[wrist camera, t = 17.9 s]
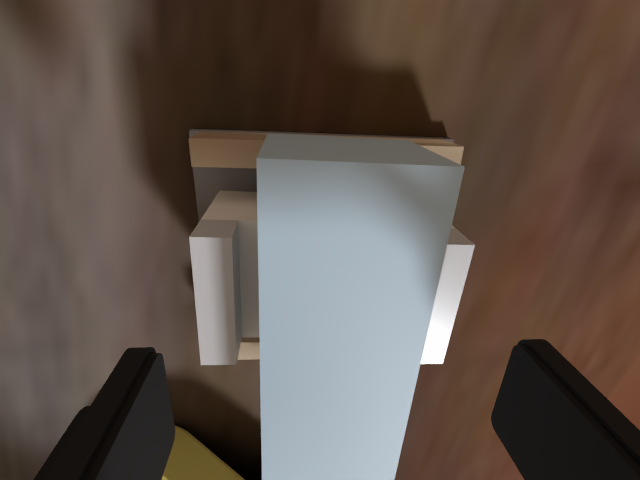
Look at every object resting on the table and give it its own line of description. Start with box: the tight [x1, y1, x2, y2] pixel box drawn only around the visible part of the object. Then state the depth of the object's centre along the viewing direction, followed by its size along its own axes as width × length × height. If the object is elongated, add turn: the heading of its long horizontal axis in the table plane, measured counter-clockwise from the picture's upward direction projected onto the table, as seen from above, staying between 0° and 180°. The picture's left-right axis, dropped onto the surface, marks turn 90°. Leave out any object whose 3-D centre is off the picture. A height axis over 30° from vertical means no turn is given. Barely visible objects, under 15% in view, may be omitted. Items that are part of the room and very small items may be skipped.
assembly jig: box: [188, 129, 464, 360], centre depth 16 cm, size 10×11×3 cm
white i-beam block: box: [189, 190, 475, 365], centre depth 14 cm, size 5×9×5 cm, turn 86°
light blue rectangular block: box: [256, 133, 465, 480], centre depth 11 cm, size 4×11×4 cm, turn 177°
